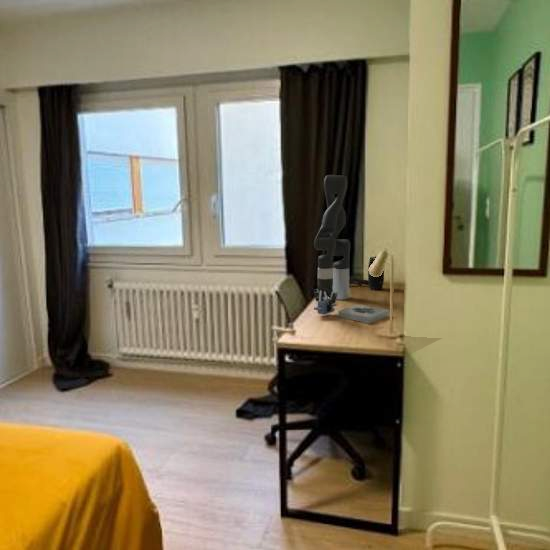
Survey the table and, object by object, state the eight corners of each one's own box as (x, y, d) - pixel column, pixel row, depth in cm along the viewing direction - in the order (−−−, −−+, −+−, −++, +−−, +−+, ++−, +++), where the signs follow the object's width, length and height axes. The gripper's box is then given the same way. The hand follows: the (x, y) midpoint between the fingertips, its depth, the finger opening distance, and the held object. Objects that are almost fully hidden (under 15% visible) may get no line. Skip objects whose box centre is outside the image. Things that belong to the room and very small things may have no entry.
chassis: (338, 316, 244) (338, 310, 244) (358, 310, 256) (358, 304, 256) (369, 323, 232) (369, 317, 231) (389, 316, 244) (389, 310, 243)
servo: (313, 314, 244) (313, 300, 242) (330, 309, 253) (330, 295, 251) (320, 316, 241) (319, 301, 239) (336, 310, 250) (336, 296, 248)
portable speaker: (385, 290, 300) (386, 258, 296) (370, 290, 299) (370, 258, 296) (381, 287, 308) (382, 255, 305) (366, 287, 308) (366, 256, 304)
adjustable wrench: (375, 294, 311) (335, 285, 314) (375, 293, 314) (335, 284, 317) (378, 281, 309) (338, 272, 313) (378, 280, 312) (338, 272, 315)
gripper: (341, 277, 241) (341, 311, 244) (318, 273, 251) (319, 307, 254) (332, 280, 236) (331, 315, 239) (309, 276, 246) (309, 310, 249)
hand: (325, 310), depth 247 cm, fingers closed on servo, 4 cm apart
